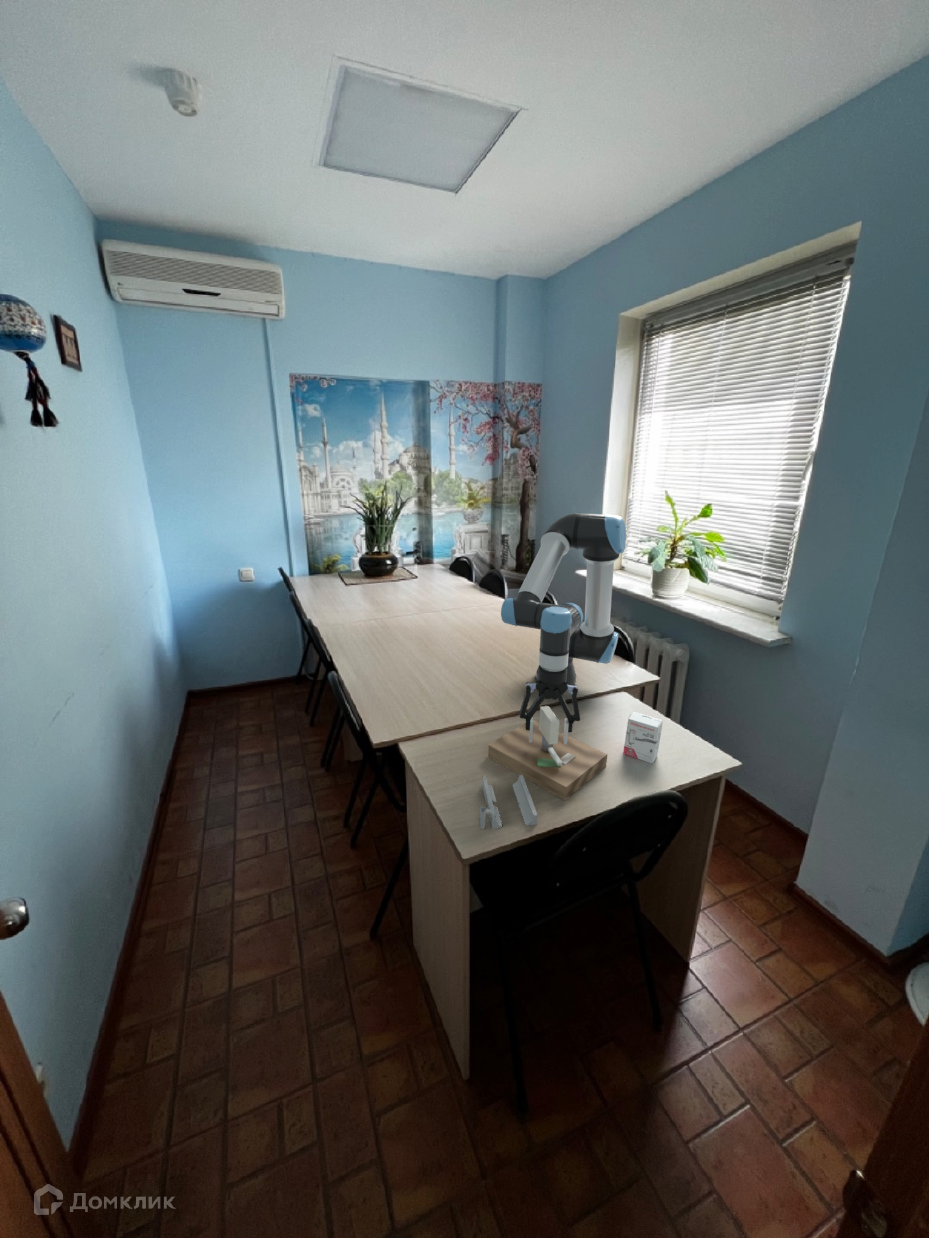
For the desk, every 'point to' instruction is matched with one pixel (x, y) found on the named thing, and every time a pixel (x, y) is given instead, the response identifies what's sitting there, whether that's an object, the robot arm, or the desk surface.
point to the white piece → (549, 731)
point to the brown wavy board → (548, 760)
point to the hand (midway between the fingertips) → (547, 740)
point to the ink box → (643, 737)
